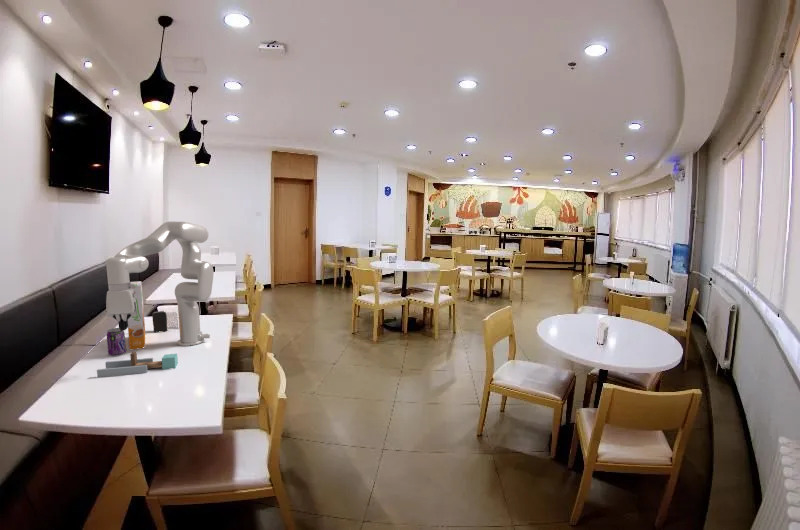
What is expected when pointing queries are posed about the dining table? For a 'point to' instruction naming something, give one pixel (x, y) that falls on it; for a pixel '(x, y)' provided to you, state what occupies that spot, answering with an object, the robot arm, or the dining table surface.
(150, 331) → the dining table surface
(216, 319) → the dining table surface
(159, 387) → the dining table surface
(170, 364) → the block
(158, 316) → the battery
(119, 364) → the grey shallow tray
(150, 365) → the plunger rod
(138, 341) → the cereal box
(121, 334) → the beverage can
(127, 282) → the robot arm
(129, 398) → the dining table surface
